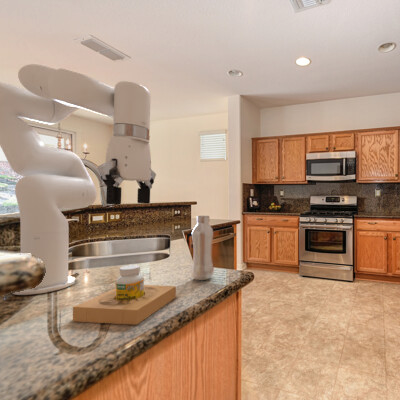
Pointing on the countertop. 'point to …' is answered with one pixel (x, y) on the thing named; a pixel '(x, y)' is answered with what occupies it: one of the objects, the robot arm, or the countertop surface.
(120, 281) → the supplement bottle
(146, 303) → the socket pad
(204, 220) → the plastic bottle
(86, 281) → the countertop surface
